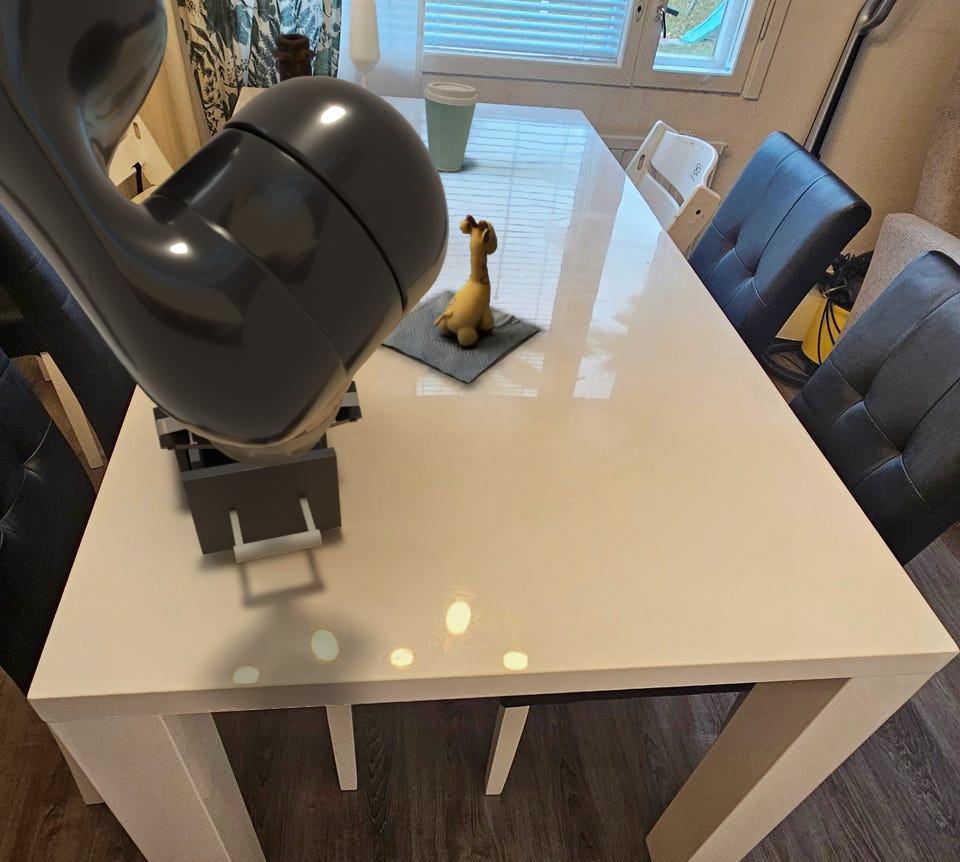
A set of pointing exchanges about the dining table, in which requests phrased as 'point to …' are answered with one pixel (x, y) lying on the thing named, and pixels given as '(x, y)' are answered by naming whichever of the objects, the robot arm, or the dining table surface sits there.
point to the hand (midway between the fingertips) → (259, 433)
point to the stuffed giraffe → (462, 319)
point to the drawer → (262, 502)
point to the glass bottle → (293, 56)
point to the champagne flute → (364, 37)
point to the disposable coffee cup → (449, 122)
